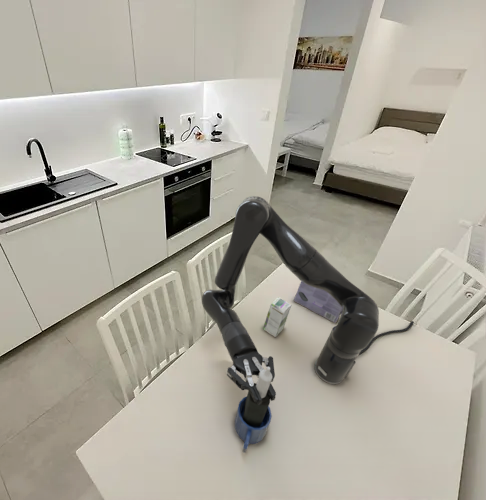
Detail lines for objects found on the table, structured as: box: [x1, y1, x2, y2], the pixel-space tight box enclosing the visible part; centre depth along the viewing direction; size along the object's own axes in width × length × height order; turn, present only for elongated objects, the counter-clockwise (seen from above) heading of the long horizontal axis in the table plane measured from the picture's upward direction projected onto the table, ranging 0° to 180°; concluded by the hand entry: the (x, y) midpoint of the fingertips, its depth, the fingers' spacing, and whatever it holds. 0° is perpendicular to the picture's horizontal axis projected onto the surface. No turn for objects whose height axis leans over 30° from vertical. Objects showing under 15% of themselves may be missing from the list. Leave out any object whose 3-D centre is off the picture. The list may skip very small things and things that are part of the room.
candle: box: [243, 367, 272, 426], centre depth 72 cm, size 5×5×25 cm
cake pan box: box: [293, 280, 342, 324], centre depth 115 cm, size 19×5×18 cm, turn 49°
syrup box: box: [263, 297, 292, 338], centre depth 107 cm, size 6×6×14 cm
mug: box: [234, 395, 273, 454], centre depth 80 cm, size 12×9×10 cm
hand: (267, 400), depth 69 cm, fingers closed on candle, 3 cm apart
